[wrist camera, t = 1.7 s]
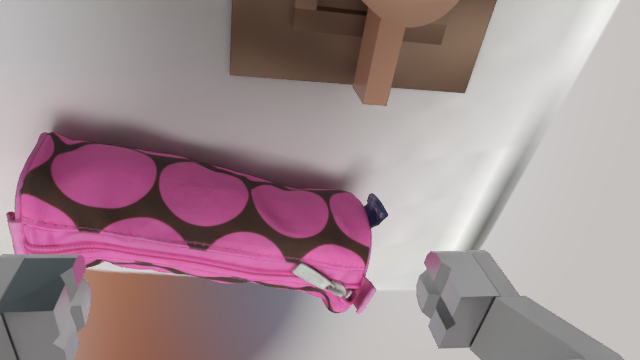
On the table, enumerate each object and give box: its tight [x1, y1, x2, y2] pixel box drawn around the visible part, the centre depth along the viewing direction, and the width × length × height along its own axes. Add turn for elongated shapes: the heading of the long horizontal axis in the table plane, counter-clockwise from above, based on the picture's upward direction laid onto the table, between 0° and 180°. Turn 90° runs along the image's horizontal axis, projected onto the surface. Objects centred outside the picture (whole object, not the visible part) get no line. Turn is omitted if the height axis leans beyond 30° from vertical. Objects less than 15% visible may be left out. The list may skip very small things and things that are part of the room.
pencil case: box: [6, 132, 388, 314], centre depth 28 cm, size 21×10×10 cm, turn 72°
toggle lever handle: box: [353, 0, 459, 106], centre depth 23 cm, size 10×5×6 cm, turn 172°
